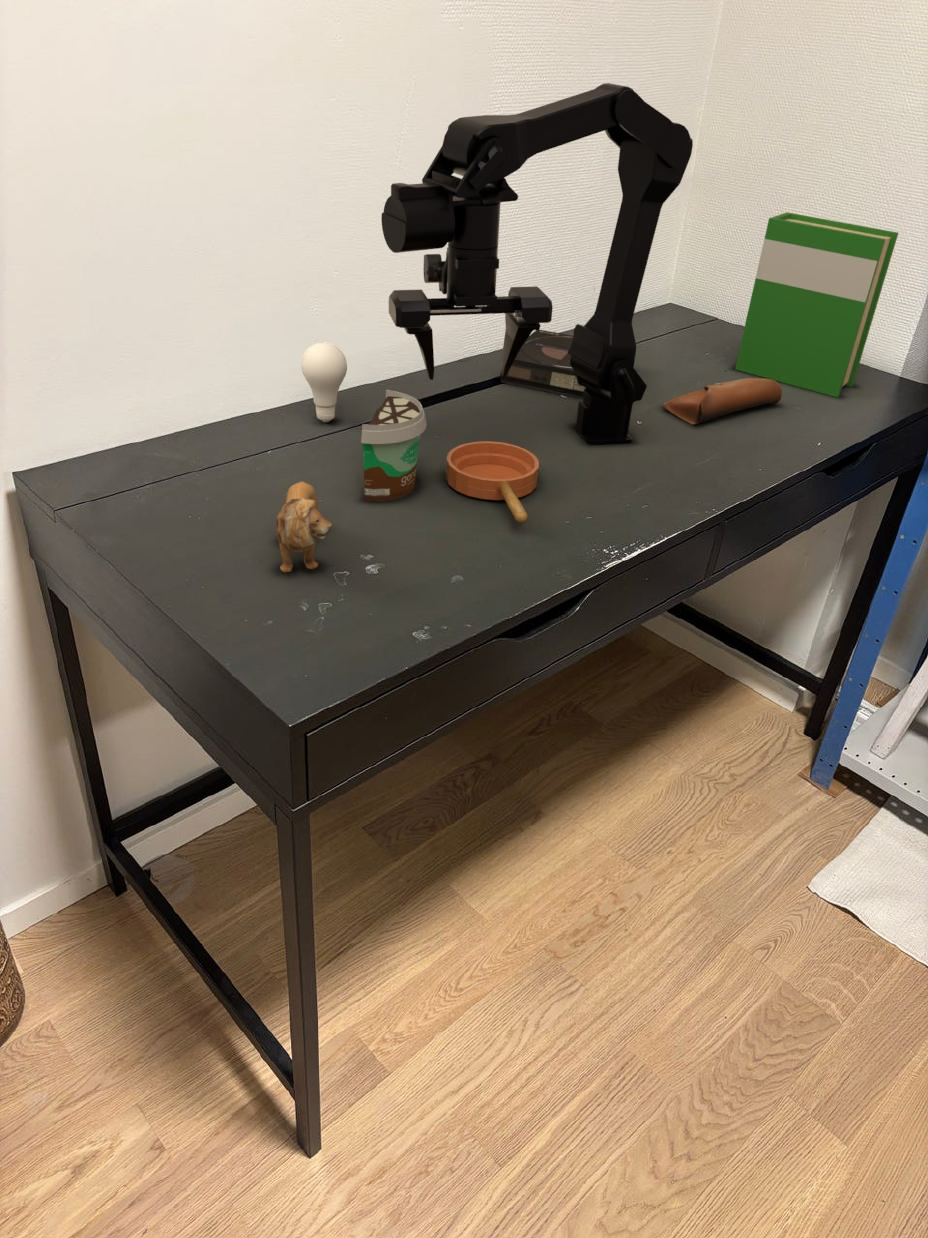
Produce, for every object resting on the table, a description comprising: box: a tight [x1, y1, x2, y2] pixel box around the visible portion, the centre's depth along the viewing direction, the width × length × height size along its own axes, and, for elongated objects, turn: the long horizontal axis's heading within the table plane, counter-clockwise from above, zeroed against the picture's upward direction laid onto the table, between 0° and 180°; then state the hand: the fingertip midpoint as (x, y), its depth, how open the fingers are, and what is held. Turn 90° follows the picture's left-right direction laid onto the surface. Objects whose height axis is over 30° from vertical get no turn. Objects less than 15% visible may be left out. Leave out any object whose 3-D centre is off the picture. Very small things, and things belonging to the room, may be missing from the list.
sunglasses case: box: [662, 377, 783, 426], centre depth 143 cm, size 18×7×7 cm, turn 125°
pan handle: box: [499, 481, 529, 524], centre depth 110 cm, size 1×9×1 cm, turn 13°
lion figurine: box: [275, 481, 332, 573], centre depth 99 cm, size 15×5×9 cm, turn 13°
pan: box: [445, 440, 540, 501], centre depth 118 cm, size 11×11×3 cm
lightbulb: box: [300, 341, 348, 423], centre depth 128 cm, size 6×6×11 cm
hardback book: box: [734, 211, 899, 398], centre depth 151 cm, size 18×7×24 cm, turn 53°
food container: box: [360, 389, 427, 502], centre depth 113 cm, size 12×6×10 cm, turn 170°
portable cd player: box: [499, 329, 585, 400], centre depth 151 cm, size 16×17×4 cm
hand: (467, 376), depth 116 cm, fingers open, 9 cm apart
